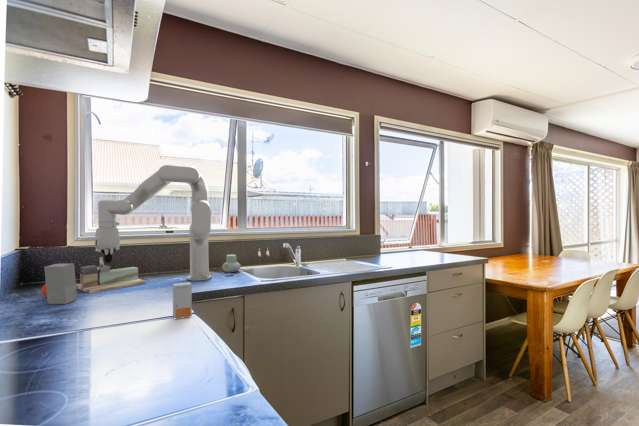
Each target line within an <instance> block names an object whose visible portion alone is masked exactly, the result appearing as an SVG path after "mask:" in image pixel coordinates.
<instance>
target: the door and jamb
mask: <svg viewBox="0 0 639 426" xmlns="http://www.w3.org/2000/svg"><path fill="white" fill-rule="evenodd" d="M99 267H100V265H98V266H97V265H95V264H94V265H93V264H92V265H85V266H80V268H79V269H80V273H79V275H80V277H79V278H80V279H79V281H80V283H79V284H77V283H76V290H77V289H78V290H81V291H83V292H84V293H88V294H95V293H100V292H101V293H102V292H106V291H110V290H111V291H112V290H116V289H117V290H118V289H123V288H130V287H134V286H140V285H145V284H146V280H144V279H140V278H139V267H137V266H130V267H123V268H115V269H111V266H110V265H106V264H104V267H100V272H97V268H99ZM82 270H83V273H82Z"/></svg>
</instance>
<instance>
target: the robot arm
mask: <svg viewBox="0 0 639 426" xmlns="http://www.w3.org/2000/svg"><path fill="white" fill-rule="evenodd" d="M171 183H181V184H182V183H185V184H188V185H189V186H190V188H191V189H190V190H191V204H190V212H191V224H190V226H189V233H188V234H189V275H188V276H187V277H186V278H187V281H194V282H195V281H207V280H210V279H212V278H213V277H212V273H211V272H210V270H209V269H210V267H209V235H210V233H211V228H212V227H211V226H212V225H211V223H212V209H211V205H210V203H209V187H208V183H207V181H206V179H205V177H203V175H202V174H201V173H200V171H199V169H197V168H196V167H194V166H187V165H173V164H172V165H171V164H164V165H162V166H160V167H159V169H158V170H157V171H155V172H154V173H152V174H151V175H150V176H149V177H147V179H145V180H143V181H142V182H141V183H140V184H139V185H138V186H137V188H136V189H135V190H134V191H132V192H131V193H130V194H129V195H128V196H126V197H125V198H123V199H120V200H119V199H118V200H109V199H105V200H104V199H103V200H99V201H98V203H97V214H98V217H97V218H98V221H97V222H98V223H97V224H98V228H96V230H95V236H94V248H95V252H98V253H99V252H100V253H101V254H102V255H103V258H104V262H105V263H106V264H109V263H112V261H113V254H114V253H115V251H118V250H120V249H121V247H120V245H121V241H120V240H121V239H120V232H119V228H118V227H117V226H119V225H120V223H119V222H117V215H120V216H126V215H130V214H132V213H133V212H134V211H135V210H137V209H138V208H139V207H140V206H142V205H143V204H144V203H146V202H147V201H148V200H150V199H152V198H153V197H154V196H156V195H157V194H158V193H159V192H160V191H162V190H163V189H164V188H166V187H167V186H168V185H169V184H171ZM105 263H104V264H105Z"/></svg>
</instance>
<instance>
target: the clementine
mask: <svg viewBox="0 0 639 426" xmlns="http://www.w3.org/2000/svg"><path fill="white" fill-rule="evenodd" d="M41 294H42V295H43V296H44V297H45V298H47V292H46V283H45V284H43V286H42V287H41Z"/></svg>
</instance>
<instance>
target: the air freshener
mask: <svg viewBox="0 0 639 426" xmlns="http://www.w3.org/2000/svg"><path fill="white" fill-rule="evenodd" d="M225 257H226V258H225V260H226V262H224V263H223V264H222V265H221V268H222V270H223V271H224V272H225V273H229V274H230V273H236V272H238V271H239V270H241V268H242V267H241V264H240V262H238V260H237V255H236V254H232V253H231V254H226V256H225Z"/></svg>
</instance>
